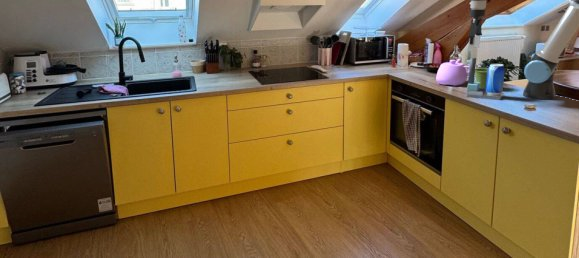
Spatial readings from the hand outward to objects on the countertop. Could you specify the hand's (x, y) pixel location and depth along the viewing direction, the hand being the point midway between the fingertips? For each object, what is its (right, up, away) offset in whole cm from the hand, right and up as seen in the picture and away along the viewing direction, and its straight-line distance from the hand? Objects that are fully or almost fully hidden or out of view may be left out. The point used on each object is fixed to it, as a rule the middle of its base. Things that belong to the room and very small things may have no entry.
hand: (473, 49), depth 234 cm
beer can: (+11, -25, +1) cm, 27 cm away
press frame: (+8, -26, +3) cm, 27 cm away
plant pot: (+15, -20, +22) cm, 33 cm away
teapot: (+2, -15, +38) cm, 41 cm away
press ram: (+2, -23, +6) cm, 24 cm away
